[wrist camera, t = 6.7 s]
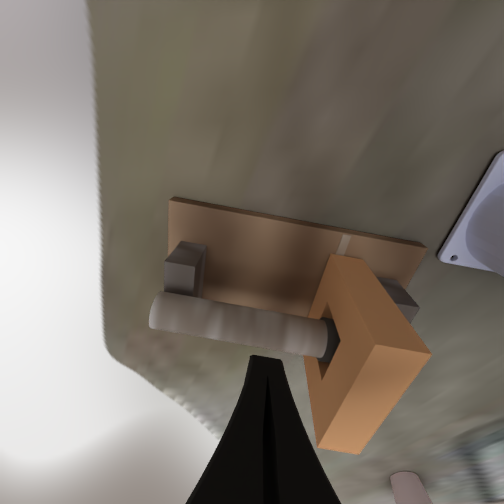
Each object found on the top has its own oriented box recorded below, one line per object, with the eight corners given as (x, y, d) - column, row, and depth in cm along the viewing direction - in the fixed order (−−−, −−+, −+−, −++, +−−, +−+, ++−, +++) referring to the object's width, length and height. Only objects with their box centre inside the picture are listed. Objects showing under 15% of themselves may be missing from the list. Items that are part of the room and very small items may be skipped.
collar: (300, 336, 22) (317, 447, 14) (330, 253, 18) (375, 344, 10) (327, 341, 22) (358, 454, 14) (363, 259, 18) (432, 354, 10)
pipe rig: (170, 318, 24) (135, 384, 17) (173, 196, 18) (124, 230, 12) (361, 351, 24) (393, 428, 18) (420, 242, 19) (495, 299, 12)
